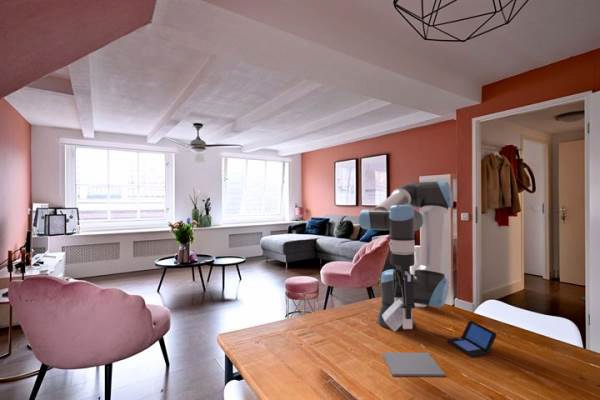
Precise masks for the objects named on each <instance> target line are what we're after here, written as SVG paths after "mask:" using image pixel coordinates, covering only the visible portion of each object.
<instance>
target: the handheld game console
mask: <svg viewBox="0 0 600 400" xmlns="http://www.w3.org/2000/svg"><path fill="white" fill-rule="evenodd" d="M496 338H497V333H496V332H495V331H492V330H490V329H488V328H487V327H485V326H482V325H481V324H478V323H477V322H475V321H473V320H469V321H468V322H467V324H466V327H465V328H464V330H463V332H462V335H461V336H459V337H453V338H447V343H449V344H450V345H451V346H453V347H454V348H456V349H457V350H459V351H460V352H463V353H464V354H465V355H467V356H468V357H470V358H478V357H479V358H480V357H486V356H489V355H490V352H491V351H490V350H491V349H492V346H493V344H494V342H495V341H496Z"/></svg>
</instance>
